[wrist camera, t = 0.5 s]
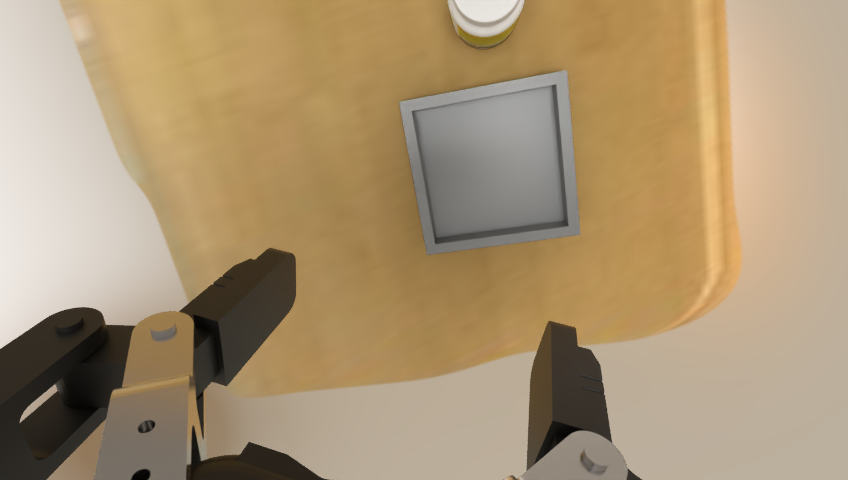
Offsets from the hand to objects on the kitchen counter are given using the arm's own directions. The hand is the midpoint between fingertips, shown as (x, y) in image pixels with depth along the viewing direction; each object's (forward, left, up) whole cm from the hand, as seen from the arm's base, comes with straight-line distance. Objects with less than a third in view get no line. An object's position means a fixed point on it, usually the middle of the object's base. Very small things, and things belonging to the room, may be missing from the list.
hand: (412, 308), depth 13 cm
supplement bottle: (-12, +4, -24) cm, 27 cm away
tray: (-1, +3, -24) cm, 24 cm away
